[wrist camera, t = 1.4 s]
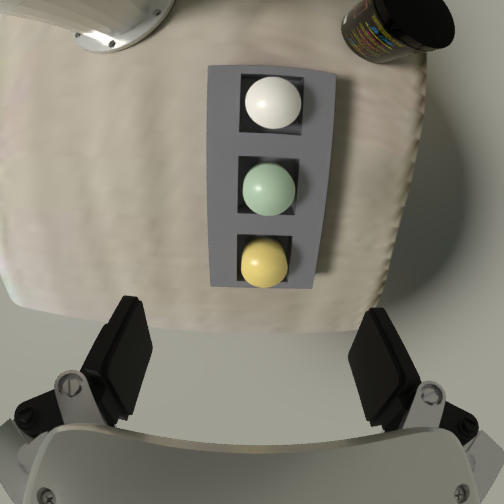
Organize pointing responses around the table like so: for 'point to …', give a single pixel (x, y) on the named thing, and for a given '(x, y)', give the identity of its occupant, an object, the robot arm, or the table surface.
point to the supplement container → (397, 28)
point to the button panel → (259, 150)
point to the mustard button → (263, 262)
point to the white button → (273, 102)
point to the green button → (268, 188)
